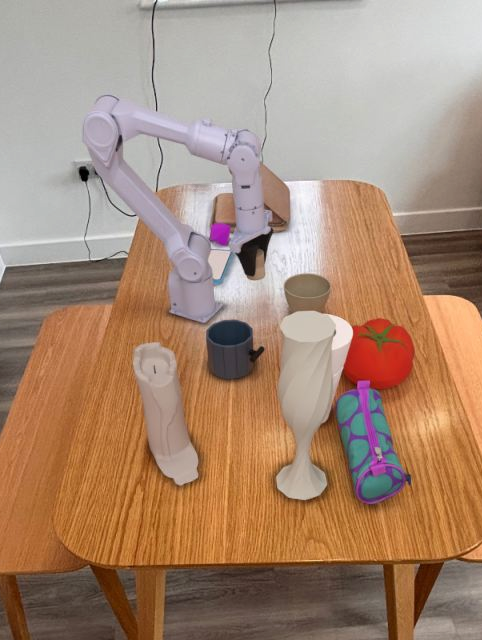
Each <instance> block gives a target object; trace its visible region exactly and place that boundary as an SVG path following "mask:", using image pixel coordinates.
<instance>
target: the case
mask: <svg viewBox="0 0 482 640" xmlns="http://www.w3.org/2000/svg"><path fill="white" fill-rule="evenodd" d="M227 168H228V171H229V173H230V175H231V176H232V171H231V170H230V169H229V167H228V166H227ZM260 168H261V177H262V186H263V200H264V210H270V211H272V219H273V220H272V221H271V222H268V225H267V226H269V227H271V228H273V232H283V231H285V230H286V229H287V228H288V226H289V225H288V223H289V222H290V220H291V191H290V189H289V187H288V185H287V184H286V183H285V182H284V181H283V180H282V179H281V178H280V177H279V176H278V175H276V174H275V173H274V172H273V171H272V170H271V169H270V168H268V167H267V166H266V165H265V164H264V163H263V162H262V161H261V160H260ZM212 203H213V204H212V211H211V216H210V223H209V230H211V227H212V225H214V224H215V223H220V222H221V223H224V224H226V225H228V226H230V233H234V231H235V228H236V217H235V207H234V198H233V192H222V193H218V194H217V195H216V196H214V198H213V202H212Z"/></svg>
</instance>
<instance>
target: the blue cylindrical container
mask: <svg viewBox="0 0 482 640" xmlns="http://www.w3.org/2000/svg"><path fill="white" fill-rule="evenodd" d="M205 333H206V334H205V342H206V352H207V362H208V368H209V370H210V372H211V373H212V374H213V375H214V376H216V377H218V378H221V379H226V380H235V379H240V378H243V377H245V376H247V375H249V374H250V373H251V372H252V371H253V370H254V366H255V362H256V361H257V360H258V359H259V358H260V357H261V355H262V354H263V353H265V348H264V346H259V347H258V348H257V349H256V350H255V349H254V329H253V327H252V326H251V325H249V324H248V323H247V322H245V321H243V320H239V319H222V320H219V321H217V322H214V323H212V324H211V325H210V326H209V327H208V328H207V329H206V330H205Z"/></svg>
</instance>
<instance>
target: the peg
mask: <svg viewBox="0 0 482 640" xmlns="http://www.w3.org/2000/svg"><path fill="white" fill-rule="evenodd" d="M265 265H266V262H265V263H264V252H263V250H261V249H258V251H257V255H256V272H255V275H254V276H248V275H245V277H246V278H247V279H248V280H250V281H254V282H255V281H260V280H262V279H264V278H265V277H266V266H265Z"/></svg>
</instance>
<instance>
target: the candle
mask: <svg viewBox="0 0 482 640" xmlns="http://www.w3.org/2000/svg"><path fill="white" fill-rule="evenodd" d="M176 358H177V357H176V354H175V352H174V351H173V350H171V349H169V348H167V347H164V346H163V345H162V344H161V343H160V342H158V341H152V342H146V343H141V344H139V345H138V346H136V347H135V348H134V350H133V358H132V359H133V360H132V369H133V374H134V378H135V381H136V384H137V388H138V391H139V394H140V399H141V402H142V407H143V408H142V409H143V414H144V422H145V429H146V437H147V440H148V446H149V450H150V452H151V454H152V455H153V457H154V460H155V463H156V464H157V467H158V468H159V470H160V471H161V472H162V474H163V475H164V476H165V477H167V478H169V479H173V481H174V483H175V484H176V485H178V486H183V485H184V484H187V483H191V482H194V481H195V480H197V479H198V478H199V472H198V466H199V461H200V460H199V456H198V453H197V451H196V449H195V447H194V445H193V444H192V441H191V439H190V434H189V431H188V426H187V423H186V418H185V412H184V401H183V392H182V386H181V382H180V376H179V371H178V363H177V360H176Z"/></svg>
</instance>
